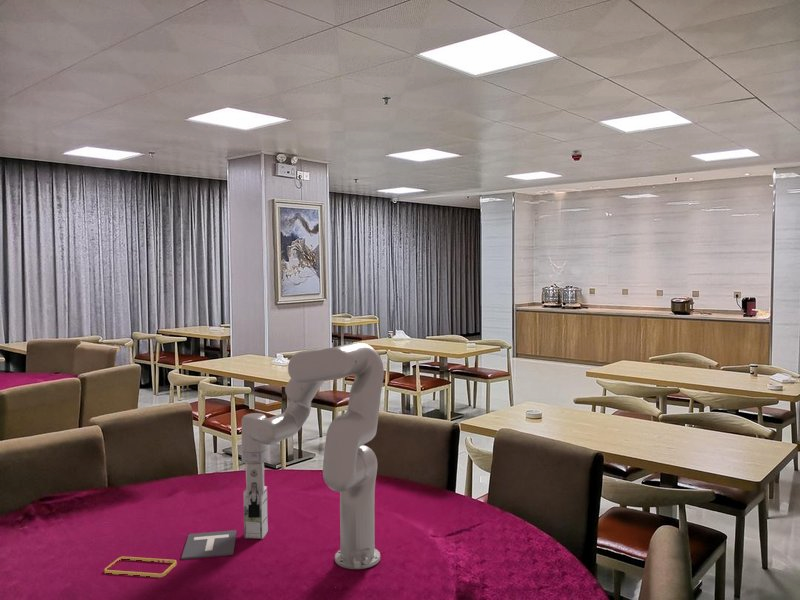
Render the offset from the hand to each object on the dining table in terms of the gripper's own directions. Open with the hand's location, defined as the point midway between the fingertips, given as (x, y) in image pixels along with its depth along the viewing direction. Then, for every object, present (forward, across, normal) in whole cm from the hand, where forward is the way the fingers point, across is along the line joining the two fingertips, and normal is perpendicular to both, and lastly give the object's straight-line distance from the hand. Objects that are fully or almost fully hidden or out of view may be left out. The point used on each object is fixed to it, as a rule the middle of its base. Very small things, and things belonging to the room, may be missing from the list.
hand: (254, 510), depth 191 cm
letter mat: (+8, -4, +12) cm, 15 cm away
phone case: (+8, -15, +30) cm, 34 cm away
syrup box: (+8, 0, 0) cm, 8 cm away
